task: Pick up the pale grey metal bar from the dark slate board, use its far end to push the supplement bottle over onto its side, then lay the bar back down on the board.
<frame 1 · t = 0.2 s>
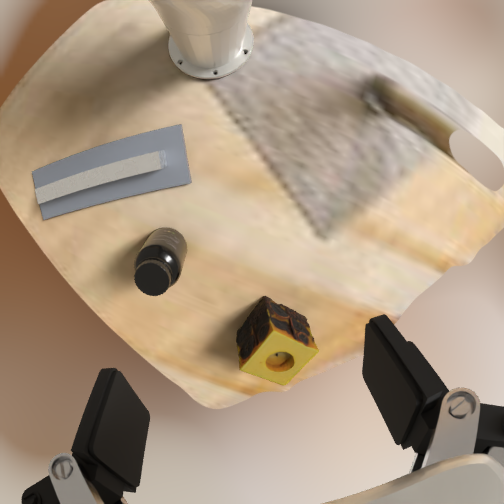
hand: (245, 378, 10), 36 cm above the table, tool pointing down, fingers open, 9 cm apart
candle: (270, 324, 54), on the table
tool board: (103, 173, 40), on the table
supplement bottle: (167, 245, 46), on the table
metal bar: (100, 174, 39), point 1 cm above the table, touching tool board
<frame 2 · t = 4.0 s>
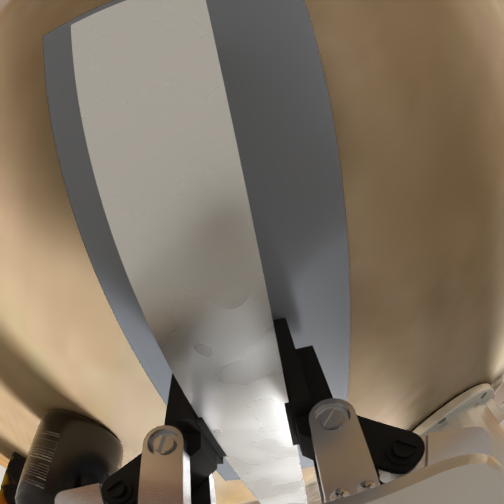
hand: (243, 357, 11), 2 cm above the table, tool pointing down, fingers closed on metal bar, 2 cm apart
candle: (48, 475, 21), on the table
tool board: (241, 333, 12), on the table
supplement bottle: (84, 431, 15), on the table
metal bar: (242, 351, 11), point 1 cm above the table, touching gripper, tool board
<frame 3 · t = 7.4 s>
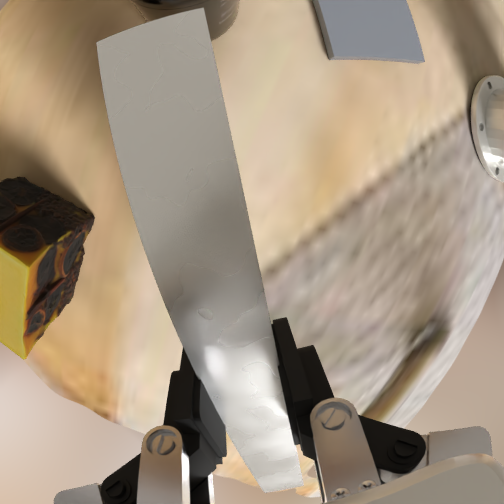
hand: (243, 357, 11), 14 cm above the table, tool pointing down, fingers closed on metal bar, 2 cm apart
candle: (44, 238, 22), on the table
supplement bottle: (195, 14, 16), on the table
metal bar: (240, 329, 12), point 12 cm above the table, touching gripper
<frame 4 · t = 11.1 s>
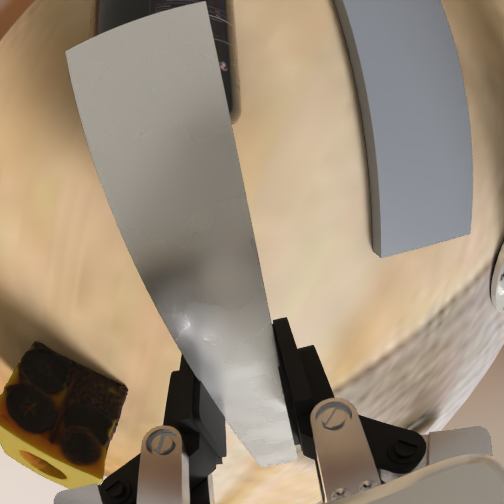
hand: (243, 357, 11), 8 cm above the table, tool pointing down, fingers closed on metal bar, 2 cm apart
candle: (75, 388, 22), on the table
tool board: (404, 48, 13), on the table
supplement bottle: (167, 136, 12), point 3 cm above the table
metal bar: (240, 323, 12), point 6 cm above the table, tilted 10°, touching gripper
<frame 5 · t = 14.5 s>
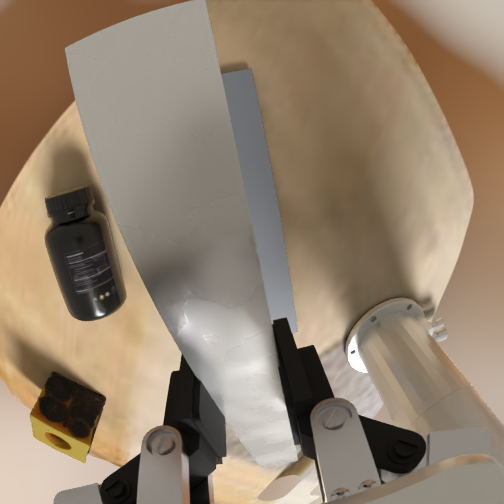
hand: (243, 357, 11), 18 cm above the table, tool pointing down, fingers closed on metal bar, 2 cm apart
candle: (76, 397, 37), on the table
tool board: (232, 222, 28), on the table
supplement bottle: (99, 307, 26), point 3 cm above the table
metal bar: (239, 322, 12), point 16 cm above the table, tilted 10°, touching gripper
when the fingers open (3 cm above the table, at t = 17.4 s): metal bar stays where it is, resting on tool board.
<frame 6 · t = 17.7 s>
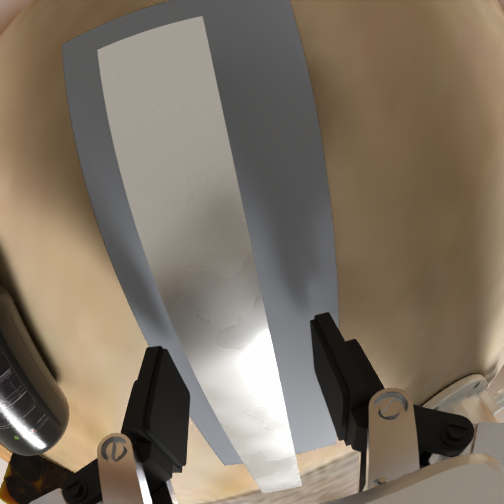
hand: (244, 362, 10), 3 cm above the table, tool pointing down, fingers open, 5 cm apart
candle: (50, 468, 23), on the table
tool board: (239, 313, 14), on the table
supplement bottle: (35, 423, 12), point 3 cm above the table
metal bar: (239, 331, 12), point 1 cm above the table, touching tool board
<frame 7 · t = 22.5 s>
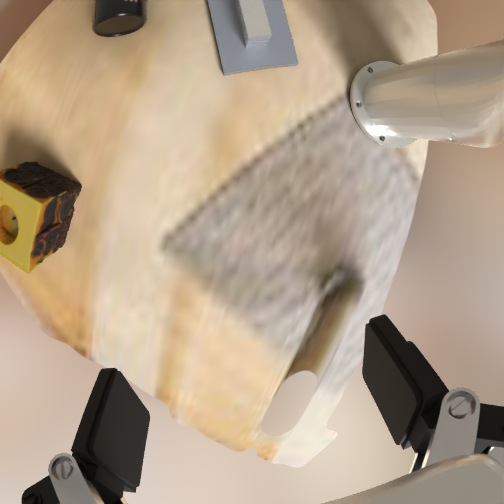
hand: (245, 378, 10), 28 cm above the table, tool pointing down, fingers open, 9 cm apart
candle: (48, 202, 33), on the table
supplement bottle: (119, 28, 22), point 3 cm above the table
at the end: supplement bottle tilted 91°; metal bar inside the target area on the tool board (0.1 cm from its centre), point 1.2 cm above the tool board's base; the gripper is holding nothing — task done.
